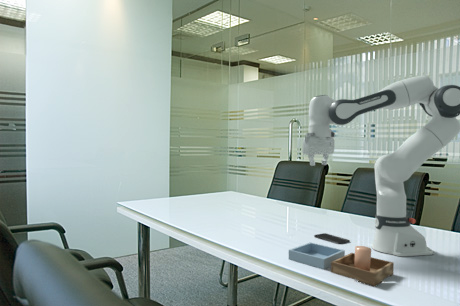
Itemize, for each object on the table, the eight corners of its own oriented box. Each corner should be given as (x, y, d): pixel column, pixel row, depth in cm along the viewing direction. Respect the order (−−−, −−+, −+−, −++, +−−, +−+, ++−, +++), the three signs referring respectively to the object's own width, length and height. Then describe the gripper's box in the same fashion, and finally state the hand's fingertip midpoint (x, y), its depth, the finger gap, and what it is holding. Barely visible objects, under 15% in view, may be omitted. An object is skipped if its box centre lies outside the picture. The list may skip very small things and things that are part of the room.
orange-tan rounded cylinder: (365, 269, 119) (366, 245, 118) (372, 274, 114) (374, 250, 113) (351, 269, 118) (352, 245, 118) (357, 274, 113) (359, 250, 113)
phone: (324, 233, 167) (350, 240, 155) (324, 235, 167) (350, 242, 155) (313, 235, 163) (338, 242, 151) (313, 237, 163) (338, 245, 151)
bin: (310, 252, 139) (310, 242, 139) (344, 261, 129) (344, 250, 129) (288, 260, 129) (288, 249, 129) (323, 271, 119) (324, 259, 119)
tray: (351, 263, 126) (351, 252, 126) (393, 274, 116) (393, 262, 116) (331, 273, 116) (331, 261, 116) (374, 286, 106) (375, 273, 106)
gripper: (312, 132, 141) (311, 166, 142) (337, 133, 156) (336, 164, 156) (298, 132, 146) (298, 165, 146) (324, 134, 160) (324, 164, 161)
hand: (318, 165), depth 151 cm, fingers open, 8 cm apart
